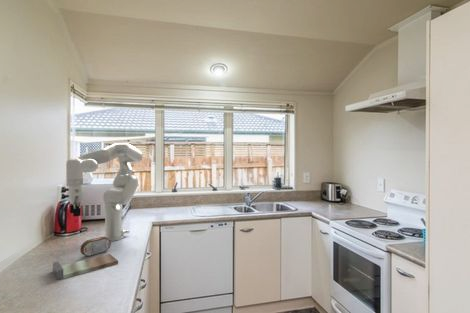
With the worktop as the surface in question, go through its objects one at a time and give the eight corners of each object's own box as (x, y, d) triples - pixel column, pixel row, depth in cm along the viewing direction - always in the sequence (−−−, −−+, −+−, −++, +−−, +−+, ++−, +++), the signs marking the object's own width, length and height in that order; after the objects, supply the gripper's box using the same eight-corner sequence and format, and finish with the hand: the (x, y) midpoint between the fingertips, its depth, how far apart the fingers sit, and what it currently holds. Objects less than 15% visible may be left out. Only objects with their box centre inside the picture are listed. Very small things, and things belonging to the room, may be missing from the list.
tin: (108, 249, 150) (108, 234, 150) (111, 250, 148) (111, 235, 148) (80, 257, 138) (79, 241, 138) (82, 259, 136) (82, 242, 136)
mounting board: (109, 256, 139) (109, 253, 139) (117, 263, 131) (117, 260, 130) (57, 269, 123) (57, 266, 123) (63, 278, 115) (63, 275, 115)
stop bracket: (57, 269, 123) (57, 261, 123) (63, 278, 115) (63, 269, 115) (52, 270, 122) (52, 262, 122) (57, 280, 113) (57, 270, 113)
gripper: (86, 183, 137) (86, 216, 137) (79, 180, 150) (79, 210, 150) (69, 184, 132) (69, 218, 132) (64, 181, 145) (64, 212, 146)
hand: (75, 214), depth 141 cm, fingers open, 9 cm apart
